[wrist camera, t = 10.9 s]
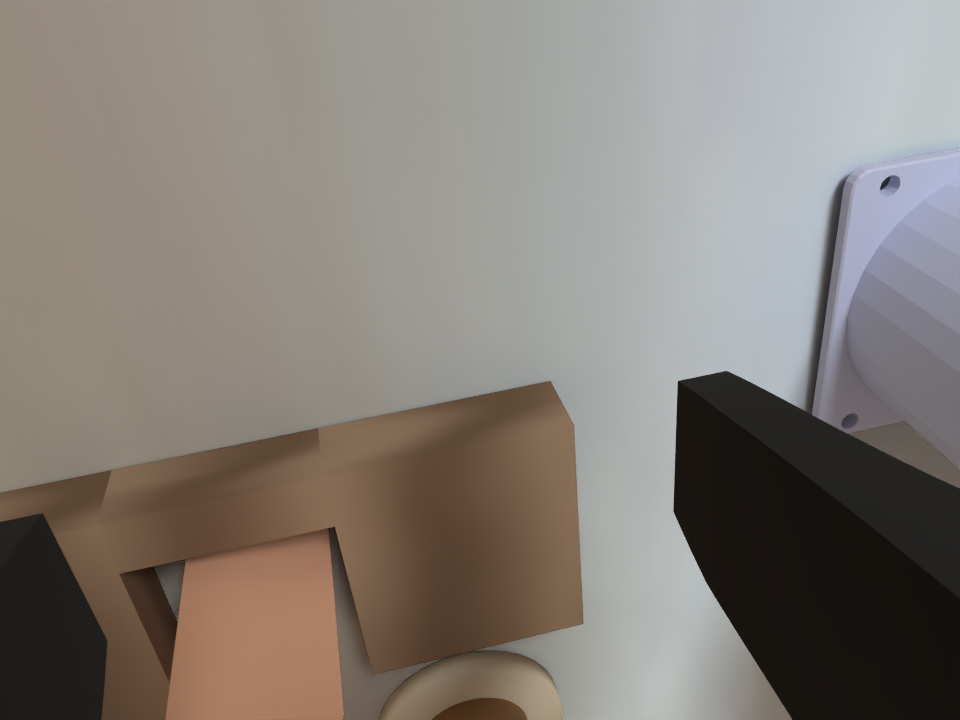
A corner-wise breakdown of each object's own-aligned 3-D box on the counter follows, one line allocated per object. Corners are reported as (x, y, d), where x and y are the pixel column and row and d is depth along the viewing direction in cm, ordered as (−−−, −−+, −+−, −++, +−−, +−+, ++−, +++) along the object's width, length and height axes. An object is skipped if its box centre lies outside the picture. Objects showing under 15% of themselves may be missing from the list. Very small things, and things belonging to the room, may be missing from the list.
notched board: (550, 380, 21) (573, 425, 20) (562, 573, 25) (583, 623, 23) (-64, 505, 20) (-96, 566, 18) (47, 693, 23) (30, 758, 22)
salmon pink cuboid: (328, 522, 22) (343, 713, 17) (316, 615, 24) (328, 815, 19) (190, 522, 21) (164, 725, 16) (188, 619, 23) (164, 831, 18)
